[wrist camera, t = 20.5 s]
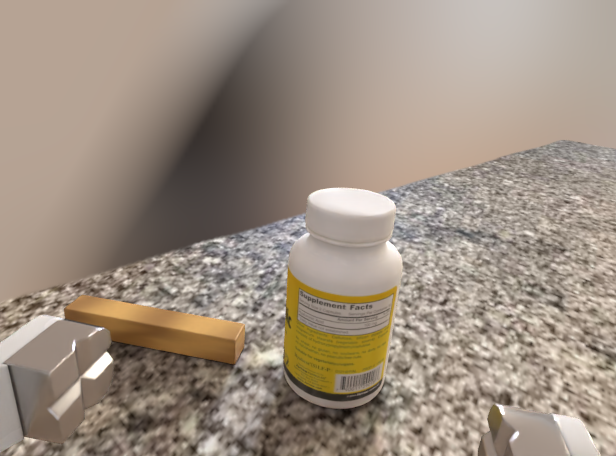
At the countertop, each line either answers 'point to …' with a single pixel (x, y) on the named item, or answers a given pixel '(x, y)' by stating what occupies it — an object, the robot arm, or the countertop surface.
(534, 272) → the countertop surface
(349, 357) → the supplement bottle
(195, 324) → the wooden bar
